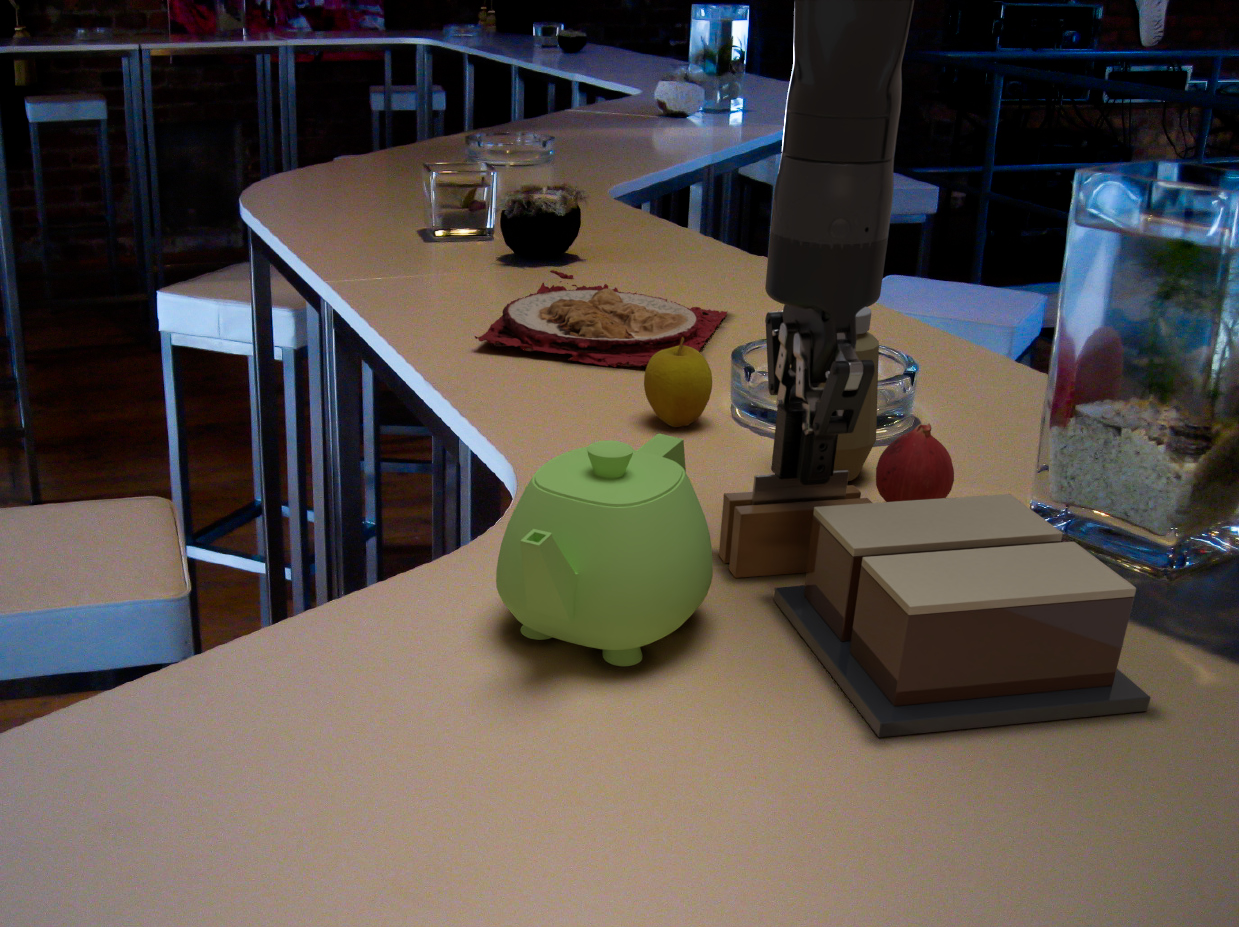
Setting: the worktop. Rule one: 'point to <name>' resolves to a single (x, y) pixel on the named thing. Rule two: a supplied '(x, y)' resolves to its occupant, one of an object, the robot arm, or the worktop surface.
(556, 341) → the plate with food
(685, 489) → the teapot
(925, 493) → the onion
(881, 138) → the robot arm
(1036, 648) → the cake
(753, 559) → the knife block
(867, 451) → the squeeze bottle
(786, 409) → the knife
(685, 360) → the apple
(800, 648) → the worktop surface
